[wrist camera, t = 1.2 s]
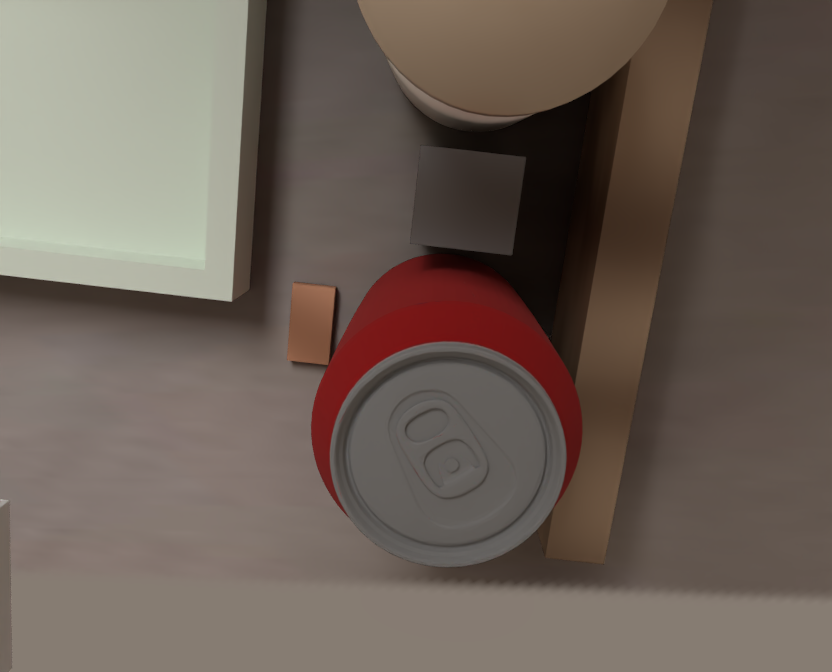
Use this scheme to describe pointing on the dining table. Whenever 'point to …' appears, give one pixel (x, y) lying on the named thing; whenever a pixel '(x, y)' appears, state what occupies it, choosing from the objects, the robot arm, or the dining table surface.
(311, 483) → the dining table surface
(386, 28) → the ceramic jar
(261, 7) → the tray
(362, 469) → the beverage can
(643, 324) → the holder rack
